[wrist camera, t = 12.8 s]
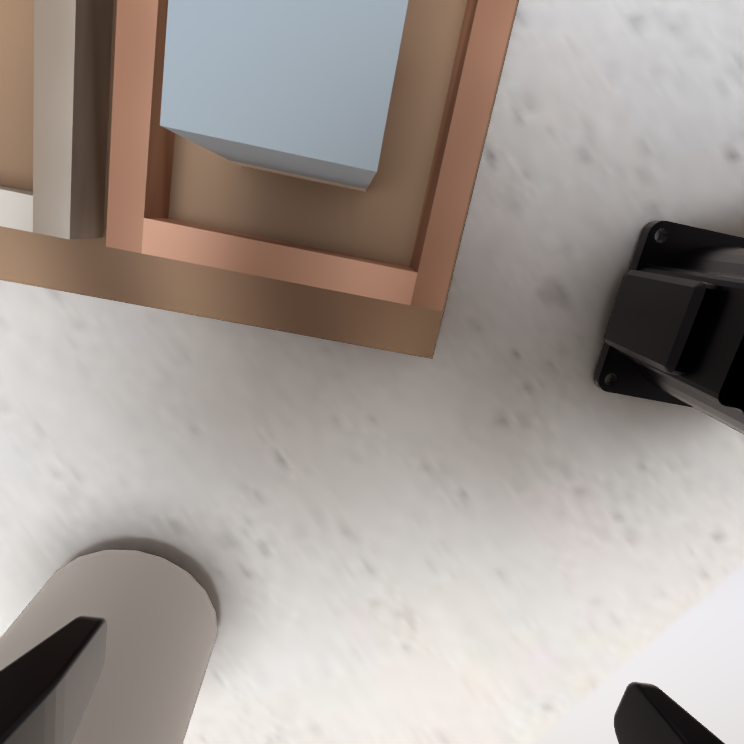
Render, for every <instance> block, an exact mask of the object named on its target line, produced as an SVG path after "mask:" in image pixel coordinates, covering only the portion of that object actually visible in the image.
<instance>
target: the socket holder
mask: <svg viewBox="0 0 744 744" xmlns="http://www.w3.org/2000/svg"><path fill="white" fill-rule="evenodd" d="M518 3H519V0H408V6H407V11H406V16H405V22H404V27H403V33H402V38H401V44H400V49H399V55H398V60H397V65H396V71H395V76H394V82H393V87H392V93H391V98H390V103H389V109H388V114H387V120H386V125H385V131H384V136H383V141H382V147H381V152H380V158H379V163H378V169H377V173H376V174H375V176H374V178H373V179H372V181H371V183H370V185H369V186H368V188H367V190H366V191H365V192H362V191H358V190H353V189H348V188H343V187H339V186H334V185H329V184H324V183H319V182H315V181H310V180H305V179H300V178H296V177H291V176H286V175H281V174H276V173H272V172H267V171H262V170H257V169H253V168H248V167H243V166H239V165H237V164H236V163H234V162H232V161H230V160H228V159H226V158H224V157H222V156H220V155H218V154H216V153H214V152H212V151H210V150H208V149H206V148H204V147H202V146H200V145H198V144H196V143H194V142H192V141H190V140H188V139H186V138H184V137H182V136H180V135H178V134H176V133H174V132H172V131H170V130H168V129H166V128H164V127H162V126H160V116H161V101H162V86H163V72H164V57H165V42H166V27H167V12H168V0H0V280H5V281H10V282H16V283H21V284H27V285H32V286H37V287H43V288H48V289H54V290H59V291H65V292H70V293H76V294H81V295H87V296H92V297H98V298H103V299H109V300H114V301H119V302H125V303H130V304H136V305H141V306H147V307H152V308H158V309H163V310H169V311H174V312H180V313H185V314H191V315H196V316H201V317H207V318H212V319H218V320H223V321H229V322H234V323H240V324H245V325H251V326H256V327H262V328H267V329H273V330H278V331H283V332H289V333H294V334H300V335H305V336H311V337H316V338H322V339H327V340H333V341H338V342H344V343H349V344H355V345H360V346H365V347H371V348H376V349H382V350H387V351H393V352H398V353H404V354H409V355H415V356H420V357H426V358H431V359H432V358H433V354H434V350H435V346H436V342H437V338H438V334H439V329H440V325H441V321H442V317H443V313H444V309H445V305H446V300H447V296H448V292H449V288H450V284H451V280H452V276H453V271H454V267H455V263H456V259H457V255H458V251H459V247H460V242H461V238H462V234H463V230H464V226H465V222H466V218H467V214H468V209H469V205H470V201H471V197H472V193H473V189H474V185H475V180H476V176H477V172H478V168H479V164H480V160H481V156H482V151H483V147H484V143H485V139H486V135H487V131H488V127H489V123H490V118H491V114H492V110H493V106H494V102H495V98H496V94H497V89H498V85H499V81H500V77H501V73H502V69H503V65H504V60H505V56H506V52H507V48H508V44H509V40H510V36H511V31H512V27H513V23H514V19H515V15H516V11H517V7H518Z"/></svg>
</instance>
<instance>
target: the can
mask: <svg viewBox="0 0 744 744" xmlns="http://www.w3.org/2000/svg"><path fill="white" fill-rule="evenodd" d="M82 615H85V616H93V617H102V618H104V619H106V621H107V642H106V658H105V663H104V667H103V670H102V673H101V676H100V678H99V680H98V683H97V685H96V687H95V690H94V692H93V694H92V697H91V699H90V701H89V704H88V706H87V708H86V711H85V713H84V715H83V718H82V720H81V722H80V725H79V727H78V729H77V732H76V734H75V736H74V739H73V741H72V743H71V744H183V741H184V738H185V735H186V732H187V729H188V725H189V722H190V719H191V716H192V713H193V710H194V707H195V703H196V700H197V697H198V694H199V691H200V688H201V685H202V681H203V678H204V675H205V672H206V669H207V666H208V663H209V659H210V656H211V653H212V650H213V647H214V644H215V641H216V637H217V621H216V612H215V610H214V607H213V605H212V603H211V601H210V598H209V596H208V594H207V592H206V591H205V590H204V588H203V587H202V586H201V585H200V584H199V583H198V582H197V581H196V580H195V579H194V578H193V577H192V576H191V575H190V573H189V572H187V571H185V570H184V569H182V568H180V567H178V566H177V565H175V564H173V563H172V562H170V561H168V560H167V559H165V558H162V557H159V556H155V555H151V554H148V553H144V552H141V551H137V550H102V551H99V552H95V553H91V554H87V555H83V556H80V557H77V558H76V559H74V560H73V561H71V562H70V563H68V564H66V565H65V566H63V567H62V568H60V569H59V570H57V571H56V572H55V573H54V574H53V576H52V577H51V578H50V579H49V580H48V582H47V583H46V584H45V585H44V586H43V588H42V589H41V590H40V591H39V592H38V594H37V595H36V596H35V597H34V598H33V600H32V601H31V602H30V603H29V604H28V606H27V607H26V608H25V609H24V610H23V612H22V613H21V614H20V615H19V616H18V618H17V619H16V620H15V621H14V622H13V624H12V625H11V626H10V627H9V628H8V630H7V631H6V632H5V633H4V634H3V636H2V637H1V638H0V670H2V669H3V668H4V667H6V666H7V665H9V664H10V663H12V662H13V661H14V660H16V659H17V658H19V657H20V656H22V655H23V654H25V653H26V652H27V651H29V650H30V649H32V648H33V647H35V646H36V645H37V644H39V643H40V642H42V641H43V640H45V639H46V638H47V637H49V636H50V635H52V634H53V633H55V632H56V631H57V630H59V629H60V628H62V627H63V626H65V625H66V624H67V623H69V622H70V621H72V620H73V619H75V618H76V617H79V616H82Z"/></svg>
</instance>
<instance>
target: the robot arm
mask: <svg viewBox="0 0 744 744" xmlns="http://www.w3.org/2000/svg"><path fill="white" fill-rule="evenodd" d="M658 229H660V230H661V232H662V237H661V238H660V240H659V241H656V240H655V233H656V231H657V230H658ZM604 339H605V344H604V347H603V350H602V352H601V355H600V358H599V361H598V364H597V367H596V370H595V373H594V383H595V384H596V385H597V386H598V387H599V388H601V389H602V390H604V391H607V392H612V393H617V394H623V395H628V396H634V397H639V398H645V399H650V400H656V401H661V402H667V403H672V404H678V405H683V406H689V407H694V408H696V409H698V410H700V411H702V412H704V413H705V414H707V415H709V416H711V417H713V418H715V419H716V420H718V421H720V422H722V423H724V424H726V425H728V426H729V427H731V428H733V429H735V430H737V431H739V432H740V433H742V434H744V238H741V237H736V236H732V235H727V234H723V233H718V232H714V231H709V230H705V229H700V228H696V227H691V226H687V225H682V224H678V223H673V222H669V221H654V222H651V223H649V224H648V225H647V226H646V227H645V228H644V230H643V232H642V235H641V238H640V241H639V244H638V246H637V249H636V252H635V255H634V258H633V261H632V264H631V267H630V270H629V272H628V273H626V274H625V275H624V277H623V280H622V283H621V286H620V289H619V292H618V295H617V298H616V301H615V304H614V307H613V310H612V313H611V316H610V319H609V322H608V325H607V328H606V331H605V334H604ZM610 373H612V378H611V380H610V381H609V382H605V377H606V376H607V375H608V374H610ZM106 642H107V621H106V619H104V618H102V617H93V616H85V615H82V616H79V617H76V618H75V619H73V620H72V621H70V622H69V623H67V624H66V625H65V626H63V627H62V628H60V629H59V630H57V631H56V632H55V633H53V634H52V635H50V636H49V637H47V638H46V639H45V640H43V641H42V642H40V643H39V644H37V645H36V646H35V647H33V648H32V649H30V650H29V651H27V652H26V653H25V654H23V655H22V656H20V657H19V658H17V659H16V660H14V661H13V662H12V663H10V664H9V665H7V666H6V667H4V668H3V669H2V670H0V744H71V743H72V741H73V739H74V736H75V734H76V732H77V729H78V727H79V725H80V722H81V720H82V718H83V715H84V713H85V711H86V708H87V706H88V704H89V701H90V699H91V697H92V694H93V692H94V690H95V687H96V685H97V683H98V680H99V678H100V676H101V673H102V670H103V667H104V663H105V658H106ZM614 728H615V733H616V736H617V739H618V742H619V744H724V743H723V742H722V741H721V740H720V739H718V738H717V737H716V736H715V735H714V734H713V733H711V732H710V731H709V730H708V729H707V728H706V727H704V726H703V725H702V724H701V723H700V722H698V721H697V720H696V719H695V718H694V717H692V716H691V715H690V714H689V713H688V712H687V711H685V710H684V709H683V708H682V707H681V706H679V705H678V704H677V703H676V702H675V701H674V700H672V699H671V698H670V697H669V696H668V695H666V694H665V693H664V692H663V691H662V690H660V689H659V688H658V687H656V686H654V685H652V684H646V683H638V682H632V683H630V684H629V685H628V686H627V688H626V690H625V692H624V695H623V697H622V699H621V702H620V704H619V706H618V708H617V711H616V713H615V716H614Z"/></svg>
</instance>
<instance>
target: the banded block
mask: <svg viewBox="0 0 744 744" xmlns="http://www.w3.org/2000/svg"><path fill="white" fill-rule="evenodd" d="M407 6H408V0H168V12H167V27H166V42H165V57H164V72H163V86H162V101H161V116H160V126H162V127H164V128H166V129H168V130H170V131H172V132H174V133H176V134H178V135H180V136H182V137H184V138H186V139H188V140H190V141H192V142H194V143H196V144H198V145H200V146H202V147H204V148H206V149H208V150H210V151H212V152H214V153H216V154H218V155H220V156H222V157H224V158H226V159H228V160H230V161H232V162H234V163H236V164H237V165H239V166H243V167H248V168H253V169H257V170H262V171H267V172H272V173H276V174H281V175H286V176H291V177H296V178H300V179H305V180H310V181H315V182H319V183H324V184H329V185H334V186H339V187H343V188H348V189H353V190H358V191H362V192H365V191H366V190H367V188H368V186H369V185H370V183H371V181H372V179H373V178H374V176H375V174H376V173H377V169H378V163H379V158H380V152H381V147H382V141H383V136H384V131H385V125H386V120H387V114H388V109H389V103H390V98H391V93H392V87H393V82H394V76H395V71H396V65H397V60H398V55H399V49H400V44H401V38H402V33H403V27H404V22H405V16H406V11H407Z"/></svg>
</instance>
